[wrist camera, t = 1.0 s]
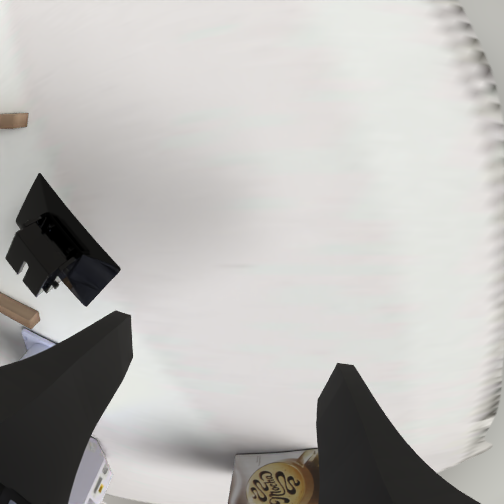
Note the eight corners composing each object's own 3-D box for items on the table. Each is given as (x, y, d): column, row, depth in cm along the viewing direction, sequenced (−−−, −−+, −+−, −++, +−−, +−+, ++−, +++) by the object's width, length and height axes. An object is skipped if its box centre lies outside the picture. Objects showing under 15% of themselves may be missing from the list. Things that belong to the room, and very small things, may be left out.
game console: (-20, 372, 31) (-78, 446, 13) (110, 443, 30) (58, 561, 12) (-8, 394, 34) (-59, 465, 15) (118, 461, 33) (75, 567, 14)
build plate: (7, 212, 19) (-30, 231, 15) (40, 146, 17) (-6, 157, 13) (98, 321, 22) (70, 356, 18) (147, 273, 20) (116, 310, 15)
